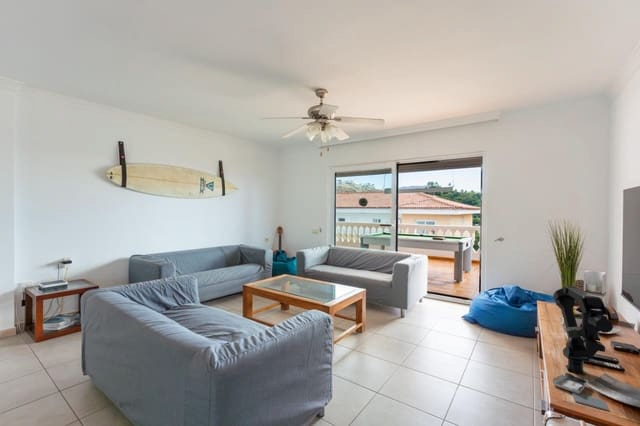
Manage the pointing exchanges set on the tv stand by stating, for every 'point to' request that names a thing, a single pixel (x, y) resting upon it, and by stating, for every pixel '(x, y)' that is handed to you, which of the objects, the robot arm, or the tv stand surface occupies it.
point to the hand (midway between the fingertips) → (589, 358)
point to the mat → (590, 401)
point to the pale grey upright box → (595, 284)
